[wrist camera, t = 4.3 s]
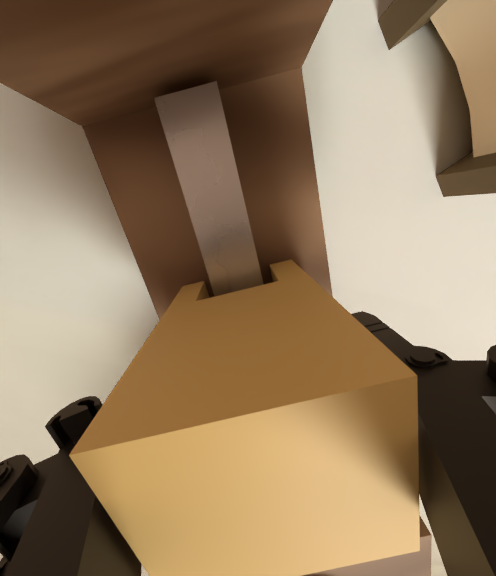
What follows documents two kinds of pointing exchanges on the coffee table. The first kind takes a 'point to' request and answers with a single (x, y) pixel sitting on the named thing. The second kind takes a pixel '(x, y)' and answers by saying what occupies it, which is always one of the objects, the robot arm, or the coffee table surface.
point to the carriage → (259, 437)
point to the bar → (211, 185)
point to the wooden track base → (153, 144)
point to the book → (473, 73)
